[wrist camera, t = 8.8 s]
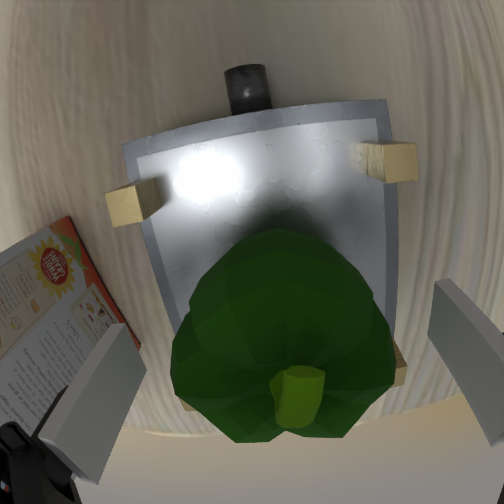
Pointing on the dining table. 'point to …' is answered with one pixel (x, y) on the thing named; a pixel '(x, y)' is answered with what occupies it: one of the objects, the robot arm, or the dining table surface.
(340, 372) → the bell pepper
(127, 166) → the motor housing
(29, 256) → the cracker box
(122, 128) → the dining table surface
